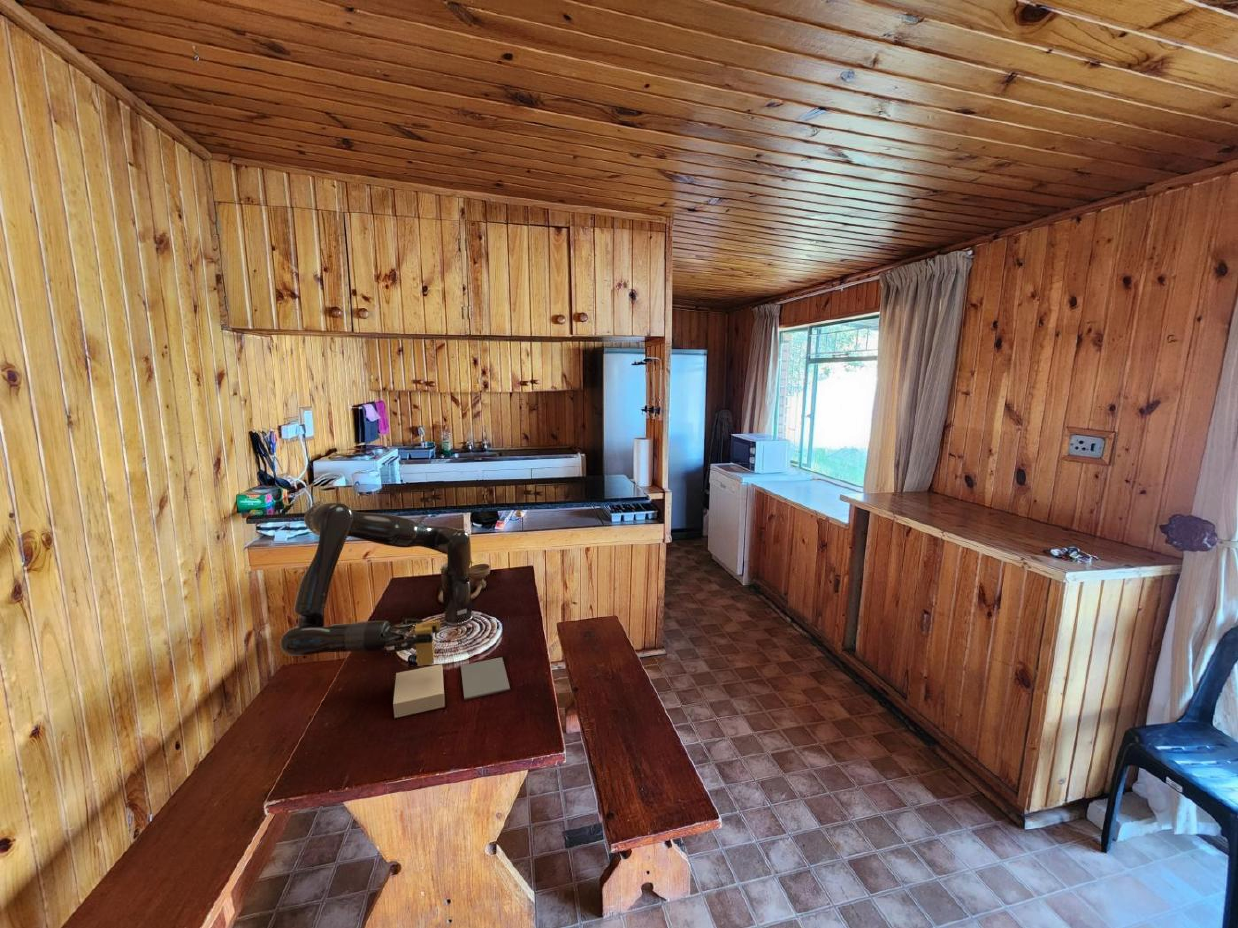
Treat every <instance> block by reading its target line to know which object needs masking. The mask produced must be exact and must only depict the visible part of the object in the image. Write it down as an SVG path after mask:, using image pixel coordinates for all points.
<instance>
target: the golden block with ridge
mask: <svg viewBox="0 0 1238 928" xmlns="http://www.w3.org/2000/svg"><path fill="white" fill-rule="evenodd" d="M432 626H436V630H438V631H441V619H436V620H429V621H423V622H422V623H421V624H416V626H415V629H414V630H415V634H416V636H417V635H418V634H432V635H433V636H434V634H433V633H434V632H433V631H432ZM415 653H416V664H417V667H422V666H428V665H434V664H435V644H434V640H433V641H432V642H431V643H417V645H415Z"/></svg>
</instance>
